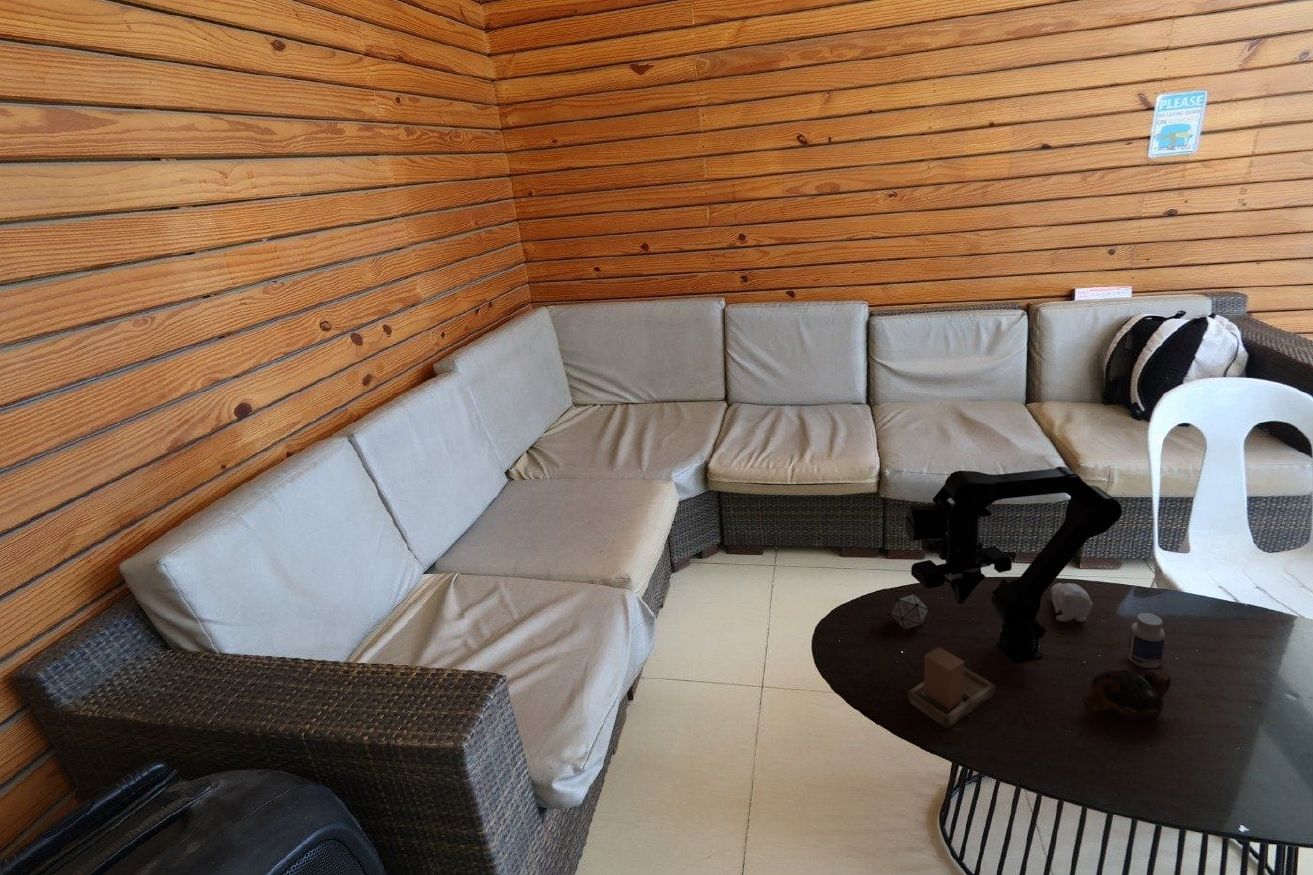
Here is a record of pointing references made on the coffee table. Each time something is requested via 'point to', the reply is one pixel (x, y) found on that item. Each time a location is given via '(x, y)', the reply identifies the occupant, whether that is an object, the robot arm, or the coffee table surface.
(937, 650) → the terracotta block
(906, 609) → the game die
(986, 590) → the coffee table surface
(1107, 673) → the decorative turtle
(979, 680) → the box
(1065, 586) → the white bear figurine
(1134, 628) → the pill bottle
